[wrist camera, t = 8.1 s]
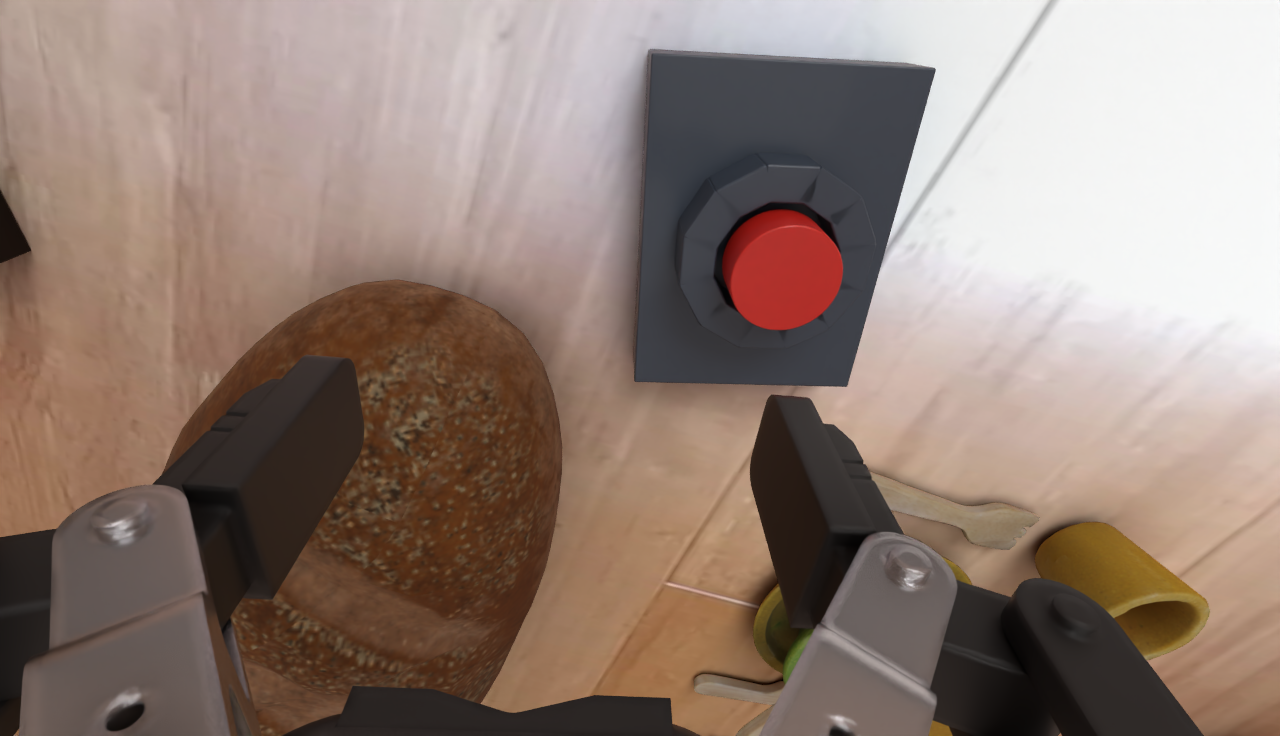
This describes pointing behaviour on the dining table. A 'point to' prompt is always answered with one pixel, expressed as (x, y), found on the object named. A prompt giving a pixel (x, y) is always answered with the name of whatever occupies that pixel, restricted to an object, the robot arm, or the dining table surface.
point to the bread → (406, 504)
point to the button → (781, 269)
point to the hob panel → (10, 235)
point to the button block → (764, 203)
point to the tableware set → (1074, 556)
